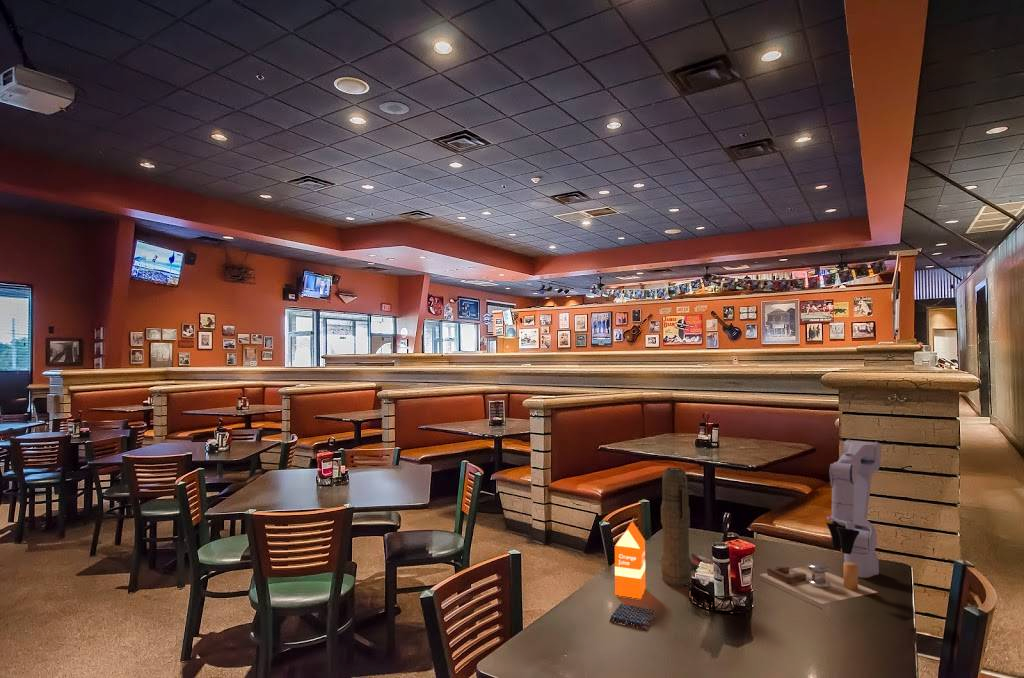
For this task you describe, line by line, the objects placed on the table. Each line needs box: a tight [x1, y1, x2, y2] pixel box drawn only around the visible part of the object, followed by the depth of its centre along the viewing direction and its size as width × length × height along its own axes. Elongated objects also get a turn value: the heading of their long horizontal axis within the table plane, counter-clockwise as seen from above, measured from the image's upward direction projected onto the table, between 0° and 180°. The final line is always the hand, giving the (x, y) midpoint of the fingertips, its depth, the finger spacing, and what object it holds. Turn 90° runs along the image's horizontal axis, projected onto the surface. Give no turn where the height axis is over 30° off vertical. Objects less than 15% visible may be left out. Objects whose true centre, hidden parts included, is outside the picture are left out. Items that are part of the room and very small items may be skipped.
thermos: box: [660, 466, 692, 587], centre depth 178 cm, size 9×12×35 cm
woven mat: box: [609, 602, 656, 631], centre depth 152 cm, size 10×11×2 cm
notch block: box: [766, 565, 806, 584], centre depth 176 cm, size 8×8×2 cm
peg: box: [842, 562, 859, 590], centre depth 168 cm, size 4×4×7 cm
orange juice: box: [614, 520, 646, 600], centre depth 170 cm, size 8×9×20 cm
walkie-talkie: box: [690, 552, 712, 572], centre depth 188 cm, size 9×4×20 cm
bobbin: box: [806, 561, 831, 588], centre depth 171 cm, size 6×6×6 cm
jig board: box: [759, 565, 878, 610], centre depth 172 cm, size 22×23×2 cm
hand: (842, 550), depth 167 cm, fingers open, 7 cm apart
